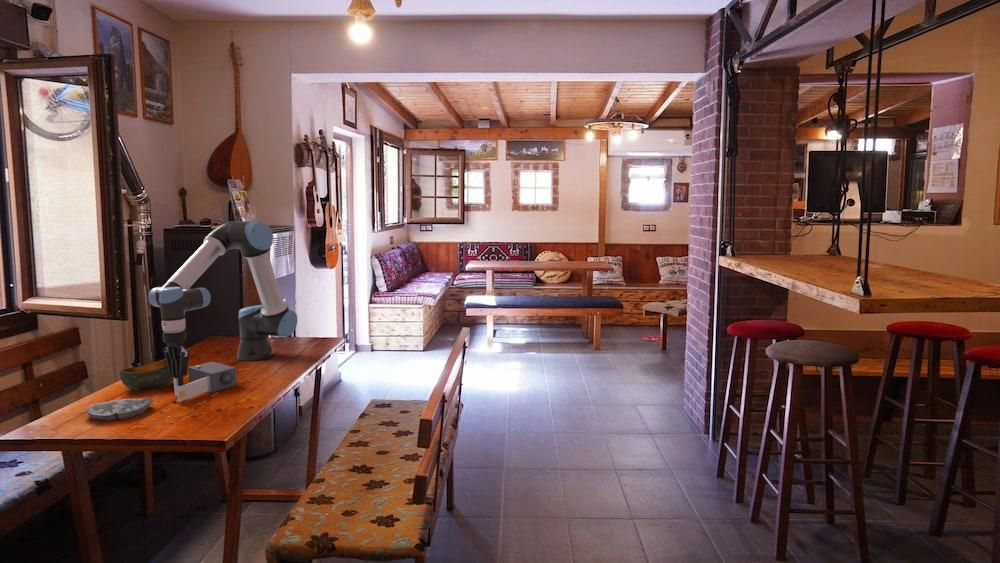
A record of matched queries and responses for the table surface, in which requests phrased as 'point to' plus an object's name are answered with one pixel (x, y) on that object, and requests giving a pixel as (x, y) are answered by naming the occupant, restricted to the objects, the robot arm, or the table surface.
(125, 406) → the brain slice
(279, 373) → the table surface
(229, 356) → the table surface
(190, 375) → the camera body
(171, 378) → the cup
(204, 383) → the door
